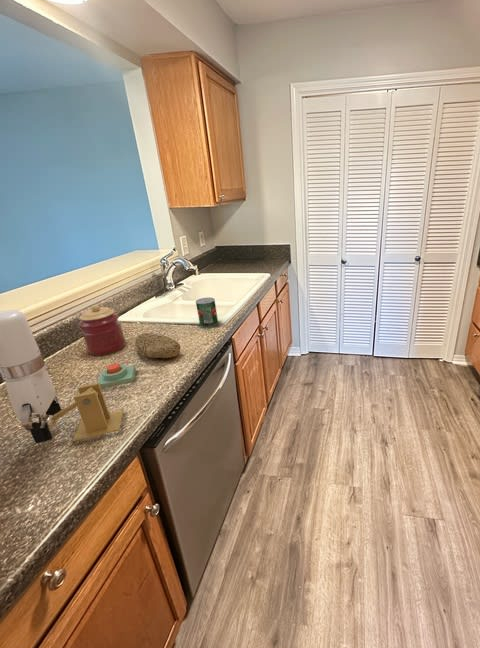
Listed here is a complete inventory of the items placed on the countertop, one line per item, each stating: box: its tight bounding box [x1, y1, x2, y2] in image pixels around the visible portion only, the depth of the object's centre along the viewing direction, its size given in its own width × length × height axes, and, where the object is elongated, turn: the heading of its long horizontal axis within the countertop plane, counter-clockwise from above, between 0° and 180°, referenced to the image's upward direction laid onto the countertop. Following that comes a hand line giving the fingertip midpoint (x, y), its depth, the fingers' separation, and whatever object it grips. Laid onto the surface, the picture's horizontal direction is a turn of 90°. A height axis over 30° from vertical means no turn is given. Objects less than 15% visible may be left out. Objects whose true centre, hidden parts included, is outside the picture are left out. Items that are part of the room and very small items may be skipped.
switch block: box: [96, 364, 137, 389], centre depth 102 cm, size 10×8×4 cm
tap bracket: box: [72, 381, 124, 442], centre depth 80 cm, size 10×8×12 cm
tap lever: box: [37, 387, 98, 430], centre depth 78 cm, size 14×4×4 cm, turn 111°
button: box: [106, 362, 121, 374], centre depth 101 cm, size 4×4×2 cm
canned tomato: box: [195, 297, 219, 328], centre depth 140 cm, size 8×8×11 cm
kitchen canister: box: [78, 304, 126, 356], centre depth 121 cm, size 13×13×18 cm
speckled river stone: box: [134, 332, 182, 359], centre depth 117 cm, size 13×8×20 cm
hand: (50, 428), depth 78 cm, fingers open, 8 cm apart
